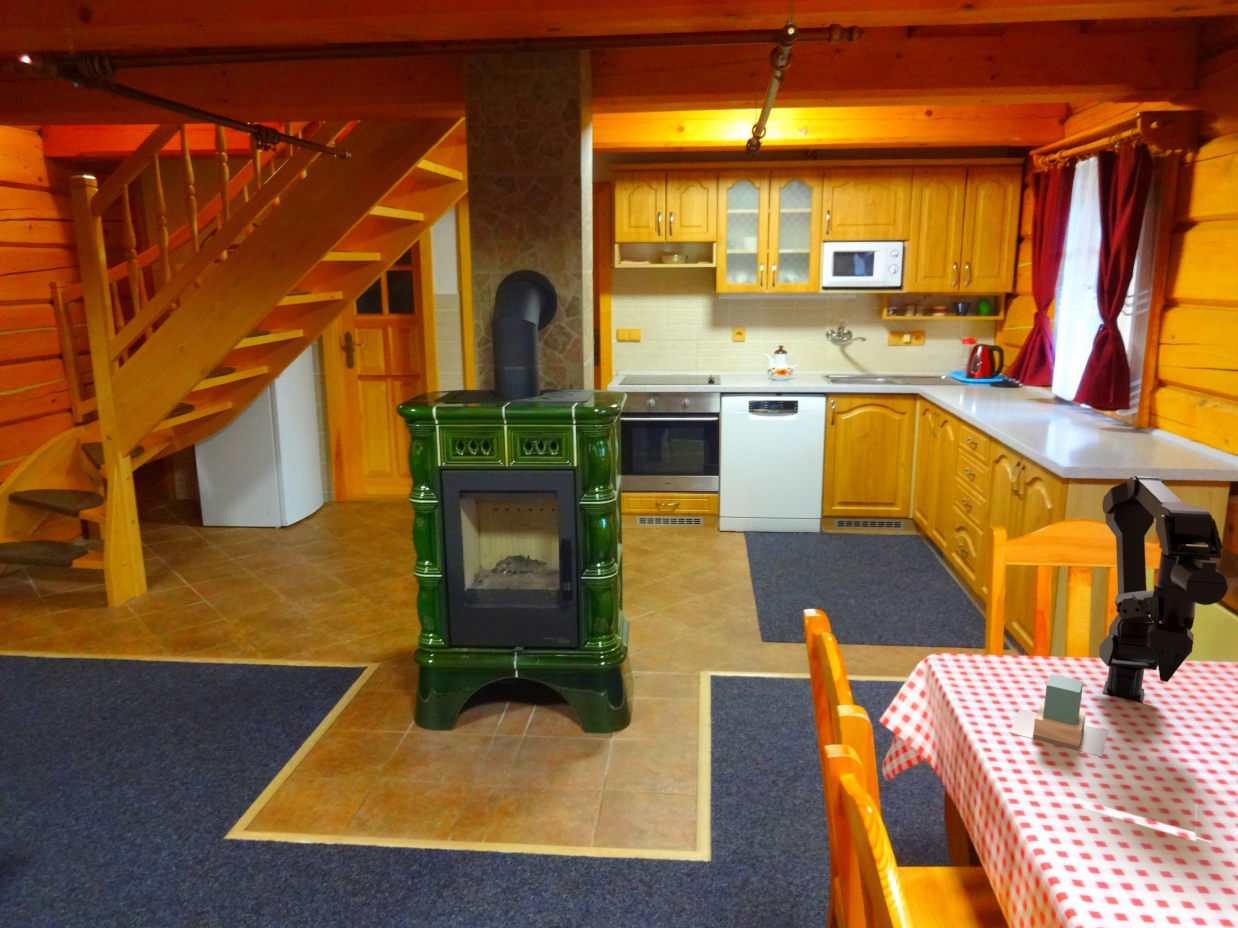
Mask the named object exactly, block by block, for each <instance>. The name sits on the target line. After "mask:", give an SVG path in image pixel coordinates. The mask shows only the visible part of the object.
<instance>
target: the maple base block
mask: <svg viewBox="0 0 1238 928" xmlns="http://www.w3.org/2000/svg"><path fill="white" fill-rule="evenodd" d="M1044 704H1045V702H1043V701H1041V702H1040V705H1039V708H1038V709H1037V712H1036V713H1037V714H1036V717H1035V722H1034V731H1033V735H1037V736H1041V737H1045V738H1049V739H1053V740H1056V741H1060V742H1064V743H1068V744H1072V745H1076V746H1079V745H1080V741H1081V738H1082V734H1083V731H1084V725H1086V723H1085V722H1086V717H1087V716H1086V715H1087V712H1084V711H1080V712H1079V716H1078V720H1077V723H1076V726H1075V725H1071V724H1067V723H1063V722H1059V721H1055V720H1051V719H1047V718H1043V713H1044Z"/></svg>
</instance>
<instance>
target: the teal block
mask: <svg viewBox="0 0 1238 928" xmlns="http://www.w3.org/2000/svg"><path fill="white" fill-rule="evenodd" d="M1083 686H1084V681H1083V680H1078V679H1075V678H1069V677H1066V676H1061V675H1057V674H1051V673H1050V675H1049V678H1048V680H1047V683H1046V688H1045V696H1044V697H1045V698H1044V703H1045V704H1044V713H1043V718H1047V719H1051V720H1055V721H1059V722H1063V723H1067V724H1071V725H1075V726H1076V723H1077V720H1078V716H1079V712H1081V711H1080V710H1081V703H1082V694H1083Z"/></svg>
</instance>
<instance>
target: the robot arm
mask: <svg viewBox="0 0 1238 928" xmlns="http://www.w3.org/2000/svg"><path fill="white" fill-rule="evenodd" d="M1164 482H1165V481H1164V480H1163V479H1162V478H1161V477H1158V476H1147V475H1134V476H1130V477H1129V478H1128V479H1127V481H1125V482H1122V483H1120V484H1118V485H1115V486H1112V487H1111V488H1109V490H1108V491H1107V493H1105V495H1104V496H1103V499H1102V505H1101V506H1102V512H1103V513H1104V514H1105V523H1106V525H1107V527H1108V528H1109V529H1110V531H1111V532H1112V534H1113V535H1114V536H1115V546H1116V547H1115V548H1116V576H1117V577H1116V581H1117V594H1116V596H1115V598H1114V603H1115V606H1116V613H1117V614H1116V616H1115V617H1114V619H1113V621H1112V622H1111V623H1110V625H1109V626H1108V627H1109V628H1108V634H1107V636H1106V637H1105V638H1104V639H1103V640H1102V642H1101V643H1100V644H1099V650H1098V652H1099V656H1098V657H1099V658H1100V659H1101V660H1102V662H1103V663H1104V665H1106V667H1108V672H1107V680H1105V681H1104V686H1103V690H1102V695H1106V696H1110V697H1114V698H1119V699H1122V700H1127V701H1131V702H1134V703H1136V702H1137V703H1140V704H1143V701H1144V696H1145V689H1144V688H1143V683H1144V682H1143V681H1144V674H1145V670H1152V671H1157V669H1158V673H1159V680H1160V681H1161V682H1165V683H1168V682H1169V681H1170V679H1171V678H1172V677H1173V675H1175V673H1176V671H1178V669H1179V667H1180V666H1181V665H1182V664H1183V663H1184V661H1186V659H1187V658H1188V657H1189V656H1190V655H1191V653H1192V652H1193V647H1194V637H1195V636H1194V633H1193V632H1192V631H1191V630H1192V629H1193V626H1194V621H1195V615H1196V604H1198V605H1201V606H1209V605H1214V604H1217V603H1218V602H1220V601H1222V599H1223V598H1224V597H1225V596H1226V594H1227V593H1228V589H1229V588H1228V586H1229V585H1228V583H1227V579H1226V577H1225V576H1224V575H1223V574H1222V573H1221V572H1219V571H1218V570H1217V562H1215V561H1214V560H1212V559H1219V560H1220V559H1221V558H1222V552H1221V551H1222V549H1224V548H1223V543H1222V540H1221V536H1220V532H1219V530H1218V526H1217V523H1216V520H1215V518H1214V517H1213V515H1212V513H1210V511H1208V510H1207V509H1205V508H1203V507H1200V506H1196V505H1191V504H1187V503H1184V502H1183V501H1182V500H1181V499H1180V498H1179V497H1178V496H1177V495H1176V494H1175V493H1174V492H1173V491H1172V490H1171V489H1169V487H1167V486H1166V485H1165V483H1164ZM1154 522H1155V529H1154V530H1155V532H1156V535H1157V539H1158V541H1159V545H1158V547H1159V548H1160V549H1161V552H1160V557H1159V565H1158V573H1157V580H1156V581H1157V582H1156V583H1154V587H1153V590H1147V569H1146V567H1147V566H1146V565H1147V564H1146V563H1147V562H1146V539H1145V538H1146V537H1145V536H1146V535H1147V533H1148V532H1149V530H1150V529H1151V527H1152V526H1153V524H1154Z"/></svg>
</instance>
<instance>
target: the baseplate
mask: <svg viewBox="0 0 1238 928" xmlns="http://www.w3.org/2000/svg"><path fill="white" fill-rule="evenodd" d="M1036 714H1037V712H1034V711H1029V710H1025V709H1022V708H1020V709H1019V710H1018V713H1017V715H1016V717H1015V720H1014V722H1013V724H1012V726H1011V728H1010V731H1009V734H1013V735H1018V736H1021V737H1024V738H1025V737H1026V738H1029V739H1032V740H1036V741H1041V742H1044V743H1047V744H1051V745H1055V746H1058V747H1062V748H1065V749H1071V750H1074V751H1078V752H1082V753H1086V754H1089V755H1092V756H1097V757H1100V758H1102V757H1103V754H1104V750H1105V749H1104V748H1105V746H1106V745H1105V744H1106V741H1107V736H1108V732H1109V730H1106V729H1103V728H1099V727H1095V726H1089V725H1086V724H1085V725H1084V731H1083V734H1082V738H1081V741H1080V745H1079V746H1076V745H1072V744H1068V743H1064V742H1060V741H1056V740H1053V739H1049V738H1045V737H1041V736H1037V735H1033V731H1034V722H1035V717H1036Z"/></svg>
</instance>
